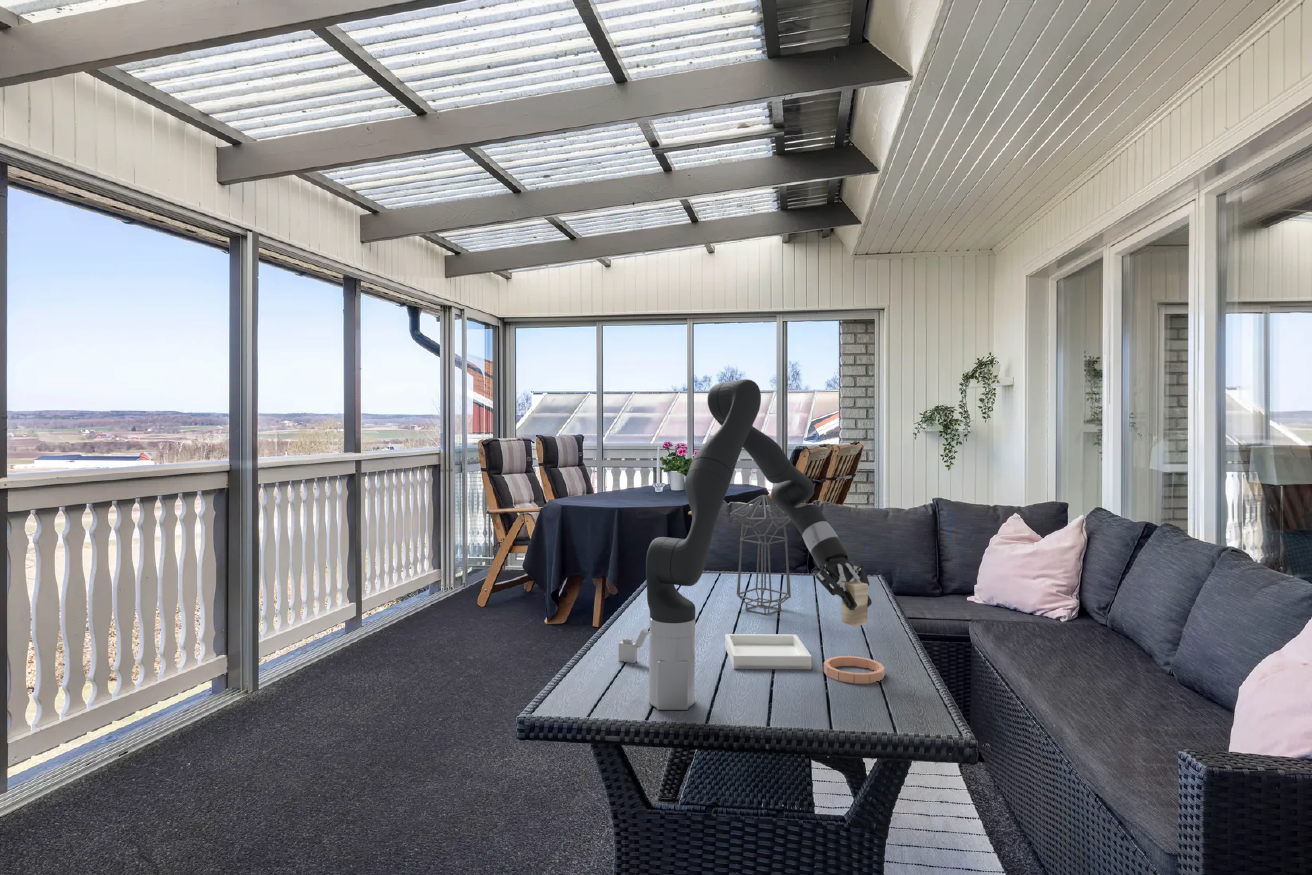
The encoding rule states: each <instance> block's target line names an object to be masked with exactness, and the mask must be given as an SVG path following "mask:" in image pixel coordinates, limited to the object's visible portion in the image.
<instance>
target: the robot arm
mask: <svg viewBox="0 0 1312 875" xmlns="http://www.w3.org/2000/svg"><path fill="white" fill-rule="evenodd" d="M761 403H762V393H761V388H760V387H759V385H758V383H756V381H754V380H752V379H747V378H746V379H745V378H744V379H737V380H730V381H727V382H725V381H724V382H720V383H718V384H715V385H713V386H712V387H711V388H710V389H709V390H708V393H707V406H708V410H709V411H710V414H711V415H712V417H713V418H714V419H715V421H716V422H717V423H718V424H719V425H720V427H719V429H718V430H717V431H716V432H715V433H714V434H713V435H712V436H711V437H710V438H709V439H708V440H707V441H706V442H705V443H704V444H703V445H702V446H701V447H700V449H698V451H697V452H696V453H695V455H694V457H693V459H692V461H691V464H690V466H689V468H688V471H687V473H686V477H685V480H684V490H685V493H686V494H685V495H686V498H687V502H688V505H689V508H690V512H691V519H692V520H691V526H690V530H689V532H688V534H687V537H686V538H676V537H667V536H661V537H660V536H658V537H656V538H654V539H653V540H651V543H650V544H649V546H648V549H647V551H646V557H645V559H646V560H645V577H646V600H647V605H648V609H649V646H648V647H649V648H648V650H649V653H648V655H649V656H648V659H649V660H648V661H649V662H648V665H649V667H648V702H649V704H650V705H651V706H652V707H655V708H656V710H661V711H662V710H663V711H664V710H665V711H667V710H668V711H669V710H671V711H673V710H674V711H677V710H679V711H681V710H683V711H687V710H689V708H690V707H692V706H693V705H694V704H695V685H696V684H695V681H696V680H695V673H696V670H695V669H696V668H695V666H696V665H695V663H696V605H695V603H694V602H693V601H691V600H690V599H688V598H687V597H685V596H684V595H682V594H681V593H680V592H679V591H678V589H677V588H676V587H675V585H676V586H681V587H693V586H694V585H696V584H697V583H698V582H699V580H700V579H701V577H702V575H703V573H704V570H705V566H706V562H707V559H708V555H709V551H710V547H711V543H712V539H713V534H714V531H715V526H716V524H717V521H718V519H719V518H718V517H719V514H720V513H721V512H720V511H721V508H722V505H723V502H724V500H725V498H726V494H727V492H728V490H729V486H730V484H731V481H732V478H733V474H734V471H735V469H736V466H737V464H738V463H737V462H738V459H739V457H740V454H741V453H742V452H741V451H742V449H744V451H745V452H747V453H748V455H749V456H750V457H751V458H752V460H753V461H754V462H755V464H756V465H757V467H758V469H759V470H760V472H761V473H762V474H763V476H764V477H765V479H766V480H767V481H768V482H769V483H771V484H775V486H773V487H772V489H771V493H770V497H771V498H772V500H773V502H774V504H775V505H776V506H777V507H778V508H779V509H780V510H781V511H782V512H784V513H785V514H784V515H786V516H789V519H791V521H792V523H793V524H794V525H795V527H796V529H797V530H798V532H799V534H800V535H801V537H802V539H803V541H804V542H803V543H804V544H805V546H806V548H807V549H808V552H809V553H810V555H811V556H812V558H813V560H814V562H815V564H816V565H817V567H818V568H819V569H820V570H819V572H818V573H817V574H816V575H815V578H816V580H817V581H818V582H819V583H820V584H821V585H822V586H823V587H824V588H825V589H826V591H828V593H829V594H831V596H834V597H835V596H836V595H837V596H838V597H839V598H841V601H842V600H843V601H844V603H845V605H846V607H847V608H849V610H854V609H855V608H856V607H857V603H856V602H855V601H854V599H853V597H852V595H851V594H850V592H849V591H848V589H847V586H846V585H845V583H846V582H851V581H856V582H861V583H865V584H868V587H869V586H870V582H869V578H868V575H867V572H866V569H865V566H864V565H863V564H859V565H858V566H857V565H854V563H852V561H850V560H849V558H848V555H849V554H848V551H847V549H846V547H845V545H843V542H842V541H841V540H840V539H841V538H839V536H838V535H837V533H836V531H835V530H834V528H833V527H832V526H831V525H830V524H829V521H827V519H826V517H825V516H824V514H823V513H822V510H821V509H820V507H818V506H817V505H816V504H806V505H804V506H800V505H802V503H805V502H806V501H808V500H809V499H811V498H812V497H813V495H814V494H815V486H814V483H813V481H812V480H811V479H810V478H809V477H808V476H807V475H806V474H804V473H803V472H802V471H801V470H799V469H798V468H796V467H795V466H794V464H793V463H792V462H791V461H790V460H789V458H788V456H787V455H786V453H785V452H784V450H783V448H781V446H780V445H779V444H778V443H777V442H776V441H775V440H773V438H772V437H770V436H768V435H767V434H766V433H764V432H762V431H761V430H759V429H757V428H756V427H755V426H754V423H755V421H756V419H757V417H758V414H759V411H760V409H761ZM797 506H800V507H797ZM847 591H848V592H847ZM871 605H872V599H871V598H870V596H869V595H868V604H867V606H868V608H869V607H870V606H871Z"/></svg>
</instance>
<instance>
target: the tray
mask: <svg viewBox="0 0 1312 875" xmlns="http://www.w3.org/2000/svg"><path fill="white" fill-rule="evenodd" d="M724 647H725V650H726V652H727V656H728V659H729V661H730V663H731V666H732V669H733V670H812V664H813V663H812V660H813V659H812V655H811V653H810V652H809V650H808V649H807V648H806V646H805V644H803V642H802V640H800V637H798V635H797V634H787V633H786V634H781V633H780V634H779V633H777V634H775V633H774V634H772V633H771V634H769V633H767V634H765V633H763V634H762V633H761V634H760V633H759V634H758V633H755V634H754V633H753V634H751V633H749V634H747V633H745V634H744V633H743V634H742V633H741V634H740V633H729V634H728V633H725V636H724Z"/></svg>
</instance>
